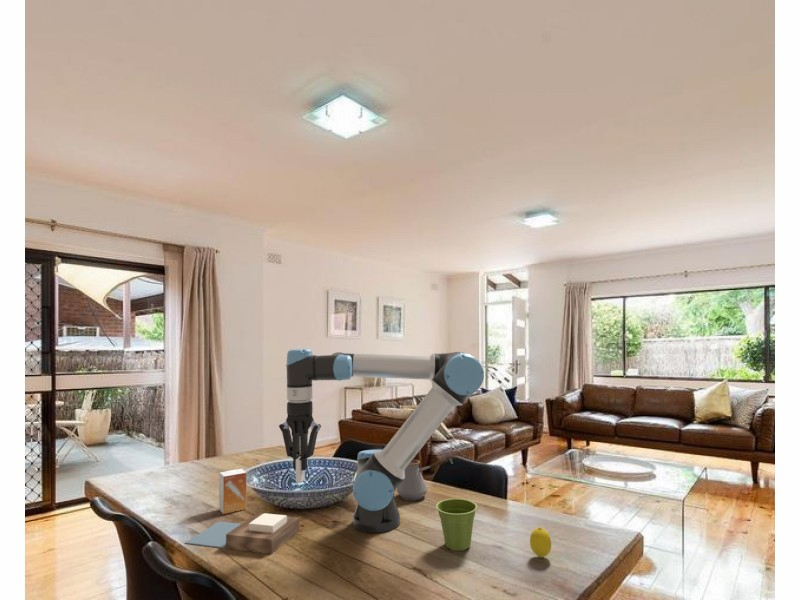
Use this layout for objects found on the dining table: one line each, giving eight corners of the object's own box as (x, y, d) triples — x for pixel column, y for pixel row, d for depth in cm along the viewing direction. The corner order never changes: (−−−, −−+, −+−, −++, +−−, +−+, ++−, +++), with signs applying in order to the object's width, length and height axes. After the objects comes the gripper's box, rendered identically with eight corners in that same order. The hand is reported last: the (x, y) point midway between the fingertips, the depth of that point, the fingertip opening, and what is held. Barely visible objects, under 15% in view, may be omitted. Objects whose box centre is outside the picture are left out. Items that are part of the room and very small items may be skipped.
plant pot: (430, 541, 140) (429, 502, 141) (466, 534, 144) (464, 496, 145) (448, 559, 129) (447, 516, 130) (486, 550, 133) (485, 509, 134)
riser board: (299, 530, 150) (298, 517, 150) (271, 554, 134) (271, 539, 134) (257, 526, 154) (257, 513, 154) (226, 548, 138) (226, 534, 139)
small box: (223, 515, 164) (223, 476, 165) (218, 509, 169) (218, 472, 170) (246, 509, 169) (246, 472, 169) (242, 504, 174) (241, 468, 175)
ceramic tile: (286, 522, 146) (286, 515, 147) (272, 532, 139) (272, 525, 139) (263, 519, 149) (263, 513, 149) (249, 530, 141) (249, 523, 141)
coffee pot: (393, 501, 174) (392, 459, 175) (401, 490, 185) (401, 451, 186) (450, 505, 168) (449, 462, 169) (456, 494, 179) (455, 454, 180)
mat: (255, 526, 154) (255, 525, 154) (223, 548, 139) (223, 547, 139) (219, 522, 158) (219, 521, 158) (184, 543, 142) (184, 542, 142)
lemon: (535, 551, 132) (534, 521, 133) (555, 556, 129) (553, 526, 129) (527, 558, 128) (526, 528, 128) (547, 565, 124) (545, 533, 125)
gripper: (273, 402, 141) (274, 483, 140) (313, 403, 138) (314, 486, 136) (286, 398, 148) (287, 475, 147) (324, 399, 145) (325, 478, 143)
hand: (300, 480), depth 142 cm, fingers closed
